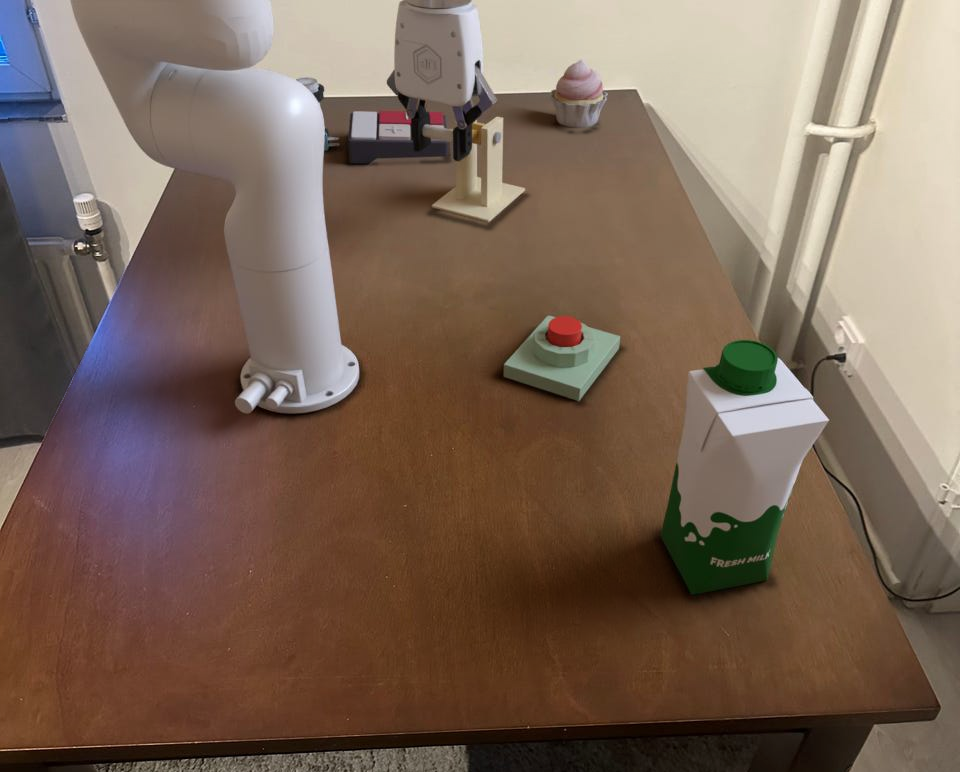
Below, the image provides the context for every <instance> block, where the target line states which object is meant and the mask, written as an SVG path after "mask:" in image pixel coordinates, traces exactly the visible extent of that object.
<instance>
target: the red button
mask: <svg viewBox="0 0 960 772" xmlns="http://www.w3.org/2000/svg"><path fill="white" fill-rule="evenodd" d="M581 323H582V322H581V321H580V320H578V318H575V317H572V316H567V315H563V316H557V317H556V318H554V319H552V320H551V321H550V322H549V324H548V341H549V343H550V344H552V345H555V346H558V347H573V346H576V345H578V344H579V343H580V341H581V332H582V324H581Z"/></svg>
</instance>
